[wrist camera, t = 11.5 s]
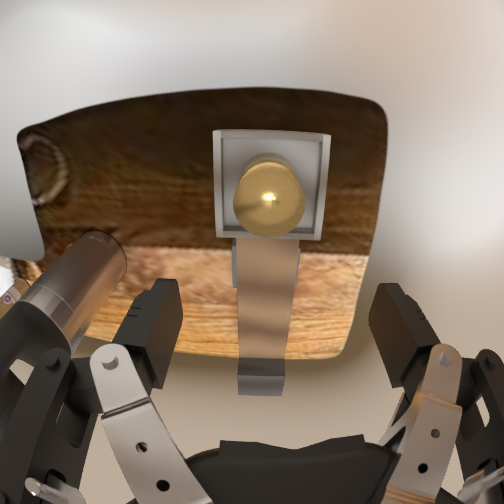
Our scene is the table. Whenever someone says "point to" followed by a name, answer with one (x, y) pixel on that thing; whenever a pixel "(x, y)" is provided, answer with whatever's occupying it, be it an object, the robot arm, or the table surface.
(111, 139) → the table surface
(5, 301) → the sprinkles bottle
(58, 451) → the robot arm
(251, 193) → the brass weight
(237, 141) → the seesaw
